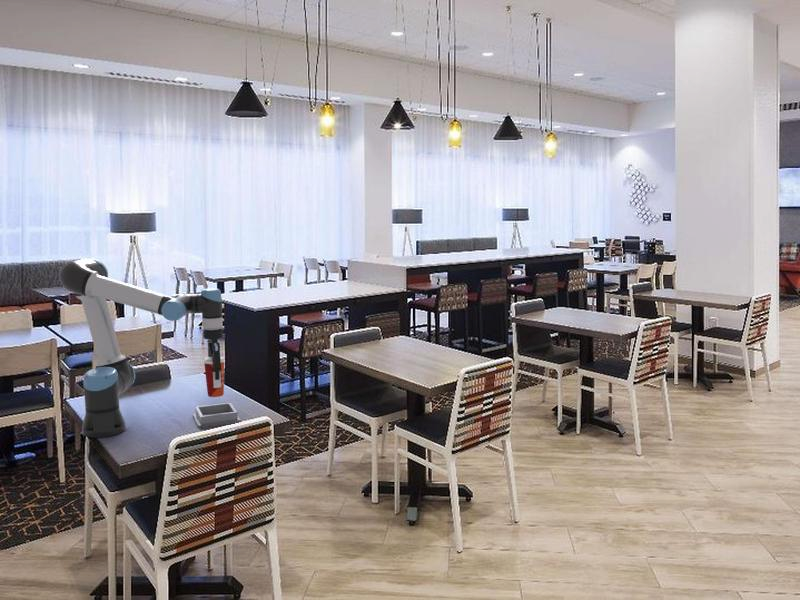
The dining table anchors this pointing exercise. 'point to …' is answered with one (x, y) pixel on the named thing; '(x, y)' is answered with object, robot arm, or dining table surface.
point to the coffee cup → (209, 377)
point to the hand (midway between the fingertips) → (215, 384)
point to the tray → (215, 415)
